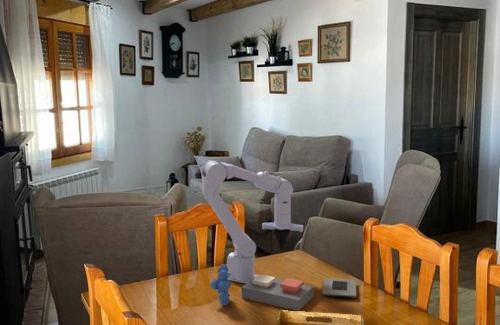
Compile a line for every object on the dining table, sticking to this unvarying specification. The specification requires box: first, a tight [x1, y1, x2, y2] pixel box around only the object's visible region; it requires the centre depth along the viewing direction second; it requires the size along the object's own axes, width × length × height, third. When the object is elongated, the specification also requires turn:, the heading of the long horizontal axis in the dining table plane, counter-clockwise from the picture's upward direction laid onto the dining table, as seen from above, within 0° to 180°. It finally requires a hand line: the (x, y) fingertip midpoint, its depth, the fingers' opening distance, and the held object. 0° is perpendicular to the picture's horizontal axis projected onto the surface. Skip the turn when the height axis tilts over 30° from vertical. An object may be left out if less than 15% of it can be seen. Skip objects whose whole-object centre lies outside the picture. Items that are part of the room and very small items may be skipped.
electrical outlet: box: [322, 277, 357, 299], centre depth 165 cm, size 13×10×2 cm
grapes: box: [209, 263, 232, 306], centre depth 156 cm, size 12×7×12 cm, turn 5°
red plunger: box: [280, 277, 305, 294], centre depth 158 cm, size 6×6×5 cm
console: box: [241, 274, 315, 311], centre depth 160 cm, size 20×12×4 cm, turn 61°
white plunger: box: [252, 273, 276, 288], centre depth 163 cm, size 6×6×5 cm
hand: (282, 249), depth 178 cm, fingers closed
